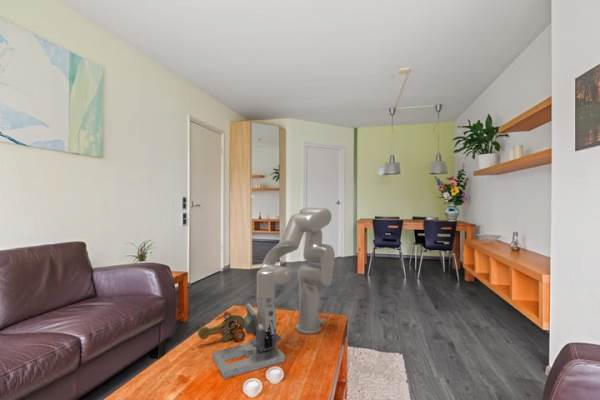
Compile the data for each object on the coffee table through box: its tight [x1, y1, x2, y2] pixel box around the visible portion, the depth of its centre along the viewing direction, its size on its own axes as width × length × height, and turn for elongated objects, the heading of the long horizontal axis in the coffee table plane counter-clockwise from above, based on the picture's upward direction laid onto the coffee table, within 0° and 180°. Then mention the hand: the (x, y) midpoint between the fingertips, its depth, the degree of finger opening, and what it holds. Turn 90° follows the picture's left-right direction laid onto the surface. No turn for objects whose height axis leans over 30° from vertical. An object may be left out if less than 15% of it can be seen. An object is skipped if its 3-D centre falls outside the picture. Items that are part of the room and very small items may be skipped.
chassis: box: [212, 342, 286, 380], centre depth 117 cm, size 24×16×2 cm, turn 120°
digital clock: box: [243, 302, 259, 335], centre depth 145 cm, size 16×9×11 cm, turn 12°
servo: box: [249, 324, 282, 352], centre depth 120 cm, size 12×4×10 cm, turn 120°
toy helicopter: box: [197, 308, 246, 343], centre depth 131 cm, size 8×21×14 cm, turn 123°
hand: (265, 344), depth 120 cm, fingers closed on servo, 4 cm apart
